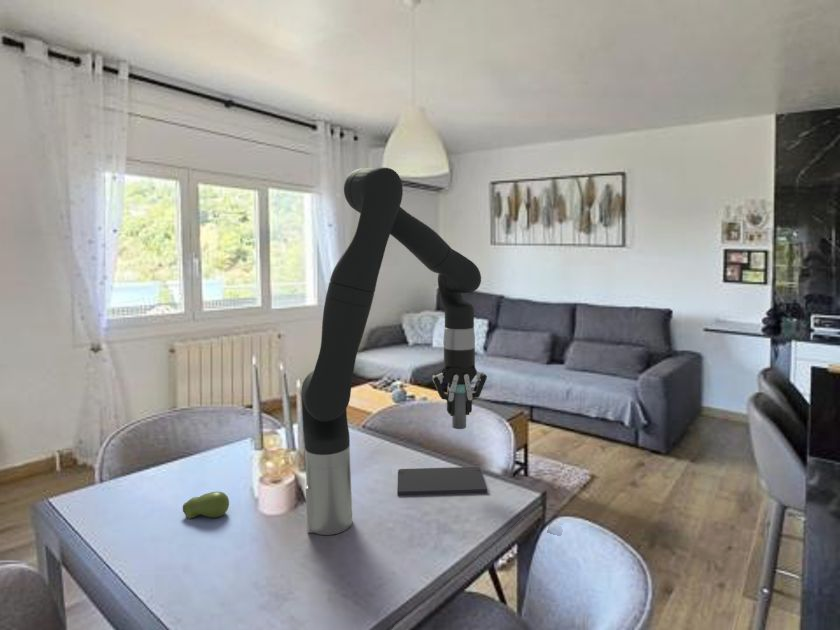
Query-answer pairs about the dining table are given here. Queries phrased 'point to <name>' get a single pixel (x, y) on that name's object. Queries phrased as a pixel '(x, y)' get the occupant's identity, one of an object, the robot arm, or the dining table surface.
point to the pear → (207, 505)
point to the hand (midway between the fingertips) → (459, 414)
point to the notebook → (440, 481)
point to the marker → (459, 407)
